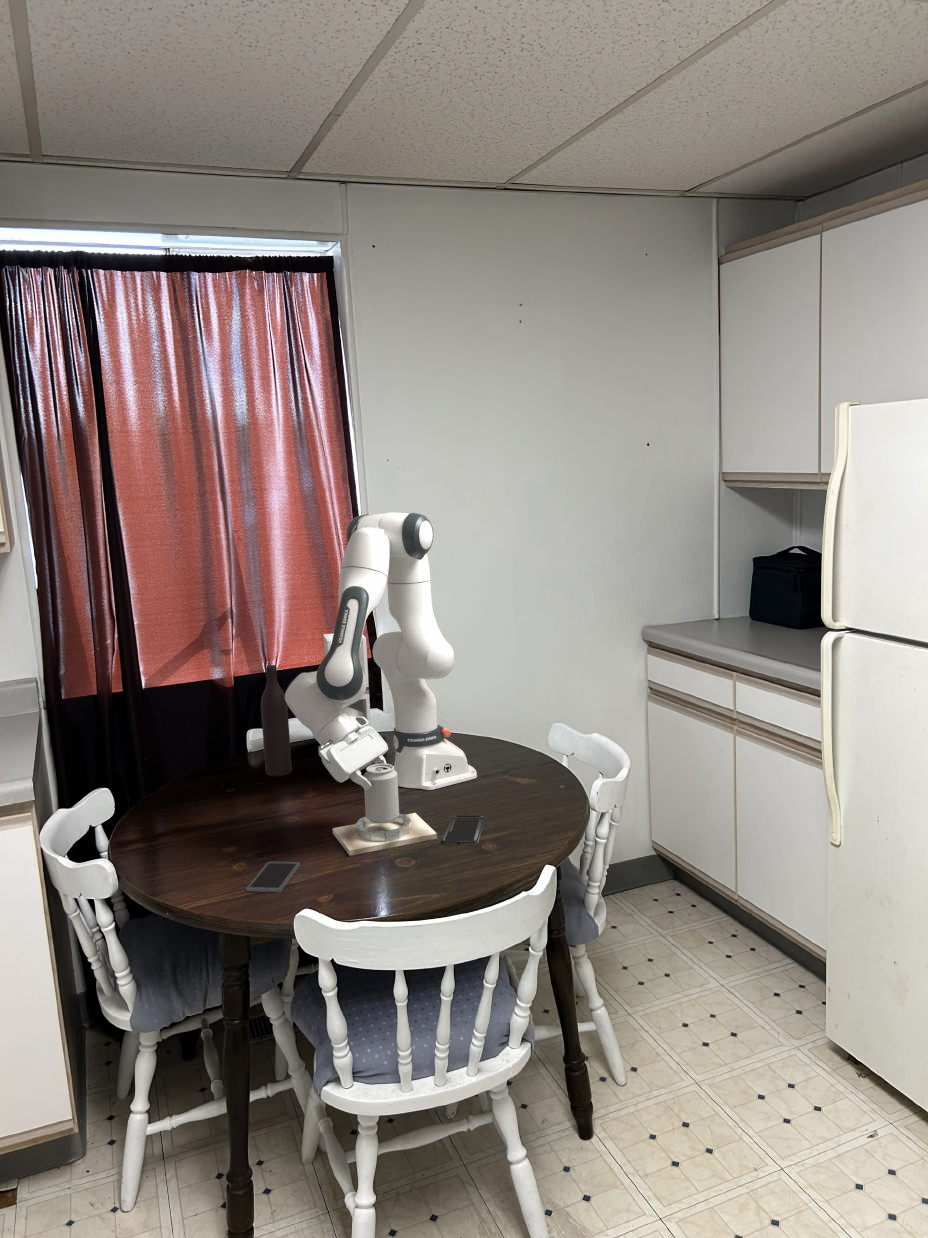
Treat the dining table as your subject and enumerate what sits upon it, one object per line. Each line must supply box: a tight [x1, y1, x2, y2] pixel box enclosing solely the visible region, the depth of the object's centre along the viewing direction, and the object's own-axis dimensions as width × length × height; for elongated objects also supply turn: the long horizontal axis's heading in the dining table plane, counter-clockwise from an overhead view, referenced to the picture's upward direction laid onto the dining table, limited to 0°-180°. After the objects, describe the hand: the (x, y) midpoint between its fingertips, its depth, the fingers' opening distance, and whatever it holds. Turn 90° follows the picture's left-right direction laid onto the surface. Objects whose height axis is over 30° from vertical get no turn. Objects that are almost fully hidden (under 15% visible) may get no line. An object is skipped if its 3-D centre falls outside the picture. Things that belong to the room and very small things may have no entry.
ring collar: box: [355, 812, 411, 842], centre depth 213 cm, size 12×12×2 cm
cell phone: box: [245, 860, 301, 894], centre depth 194 cm, size 7×14×1 cm, turn 172°
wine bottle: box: [260, 664, 293, 777], centre depth 257 cm, size 7×7×30 cm
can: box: [363, 763, 400, 823], centre depth 211 cm, size 8×8×12 cm
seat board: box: [332, 812, 438, 856], centre depth 213 cm, size 20×14×1 cm
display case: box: [323, 632, 372, 727], centre depth 269 cm, size 11×11×35 cm
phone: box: [442, 815, 486, 846], centre depth 214 cm, size 8×1×15 cm
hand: (379, 781), depth 211 cm, fingers closed on can, 7 cm apart
